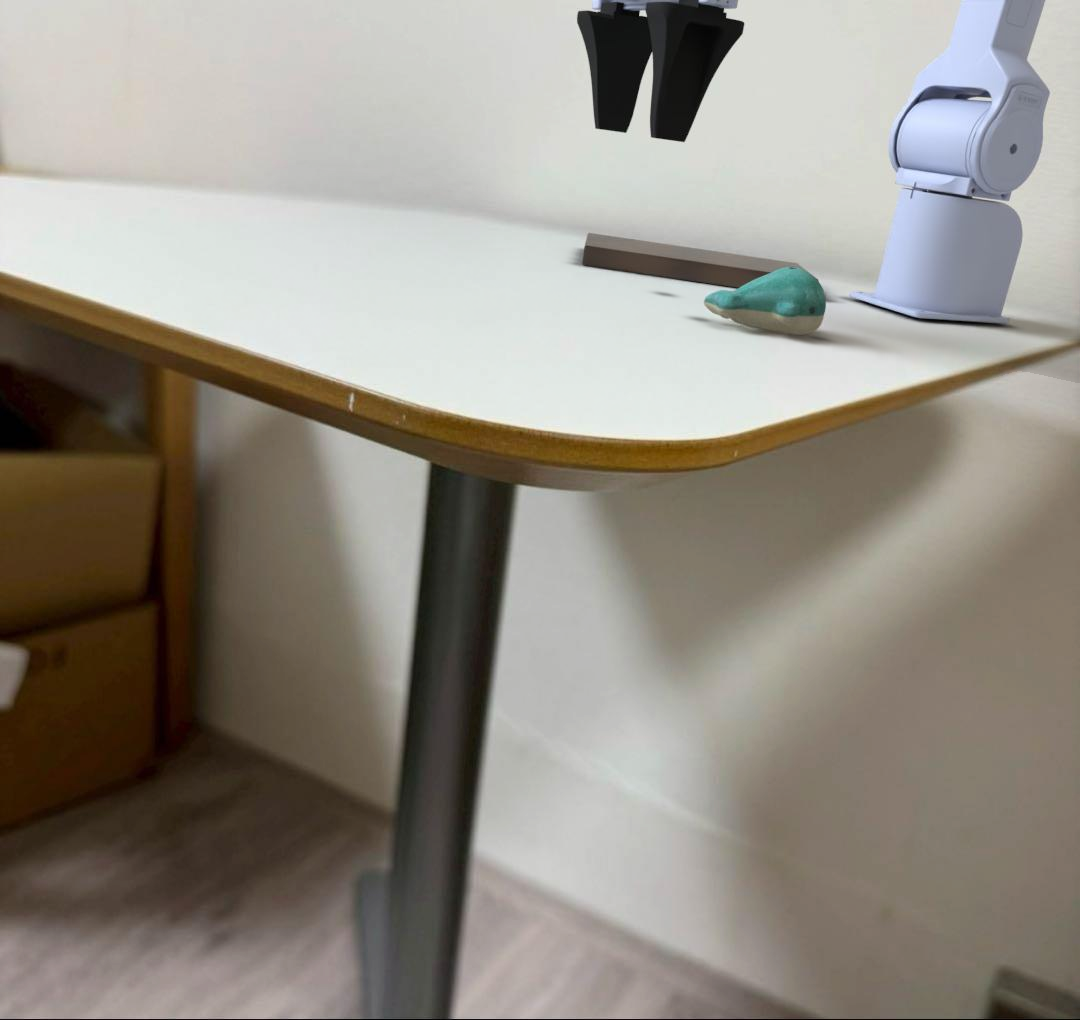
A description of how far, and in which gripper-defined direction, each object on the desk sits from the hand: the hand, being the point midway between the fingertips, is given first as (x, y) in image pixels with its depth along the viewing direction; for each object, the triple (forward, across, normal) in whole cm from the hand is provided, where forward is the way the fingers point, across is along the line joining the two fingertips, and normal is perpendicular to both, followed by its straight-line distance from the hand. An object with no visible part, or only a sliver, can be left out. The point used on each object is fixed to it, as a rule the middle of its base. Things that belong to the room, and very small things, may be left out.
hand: (637, 135), depth 67 cm
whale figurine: (+10, +9, +6) cm, 15 cm away
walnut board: (+10, -12, +14) cm, 20 cm away
